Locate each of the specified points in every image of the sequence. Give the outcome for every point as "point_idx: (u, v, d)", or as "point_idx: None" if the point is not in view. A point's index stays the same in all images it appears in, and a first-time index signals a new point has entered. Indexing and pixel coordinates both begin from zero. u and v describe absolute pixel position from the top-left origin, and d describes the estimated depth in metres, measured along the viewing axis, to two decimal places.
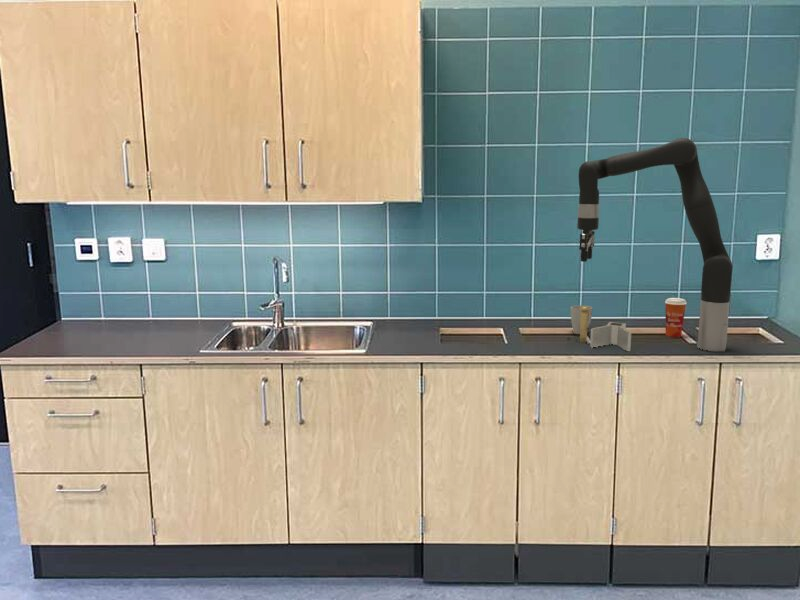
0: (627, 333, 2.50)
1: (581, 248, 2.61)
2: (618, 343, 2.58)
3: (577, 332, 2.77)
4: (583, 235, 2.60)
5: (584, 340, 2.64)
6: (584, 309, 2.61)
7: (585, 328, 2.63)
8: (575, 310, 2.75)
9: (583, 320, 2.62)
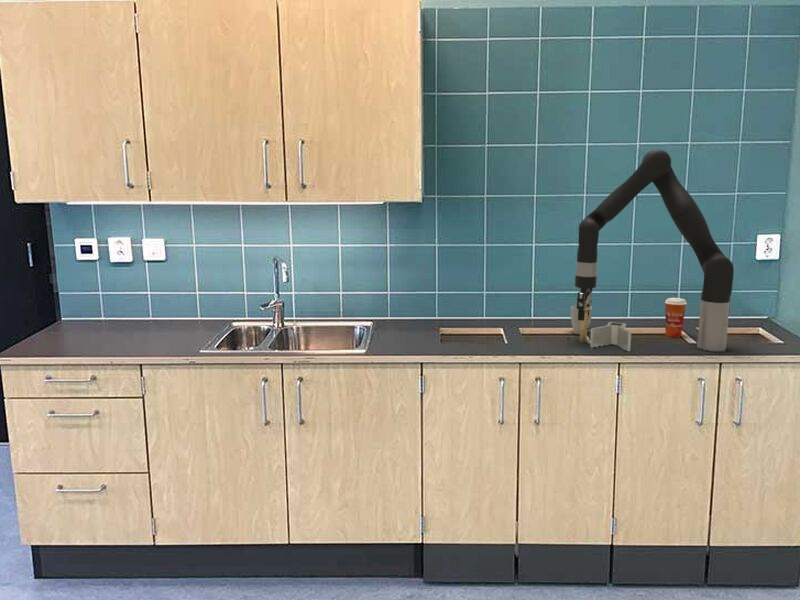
0: (627, 333, 2.50)
1: (578, 307, 2.56)
2: (618, 343, 2.58)
3: (577, 332, 2.77)
4: (580, 294, 2.55)
5: (584, 340, 2.64)
6: None
7: (585, 328, 2.63)
8: (575, 310, 2.75)
9: (583, 320, 2.62)
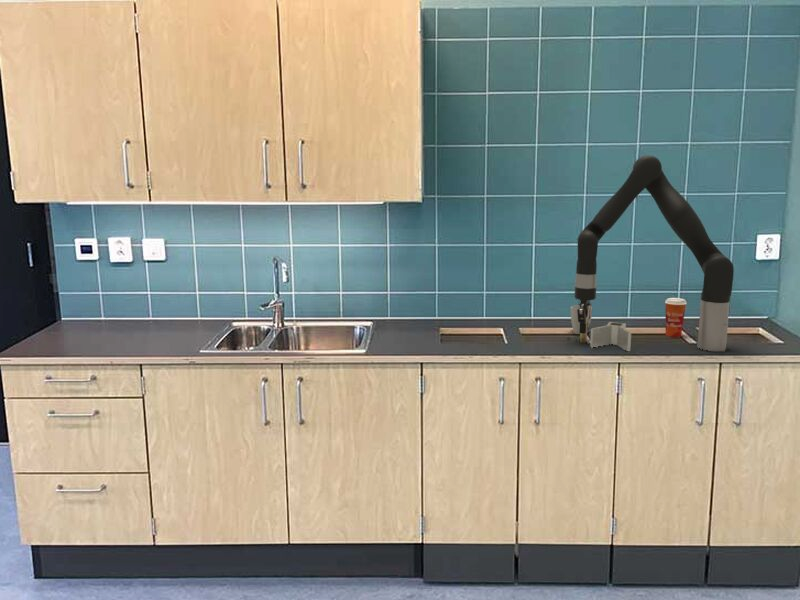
0: (627, 333, 2.50)
1: (580, 321, 2.60)
2: (618, 343, 2.58)
3: (577, 332, 2.77)
4: (580, 311, 2.57)
5: (584, 340, 2.64)
6: None
7: None
8: (575, 310, 2.75)
9: None
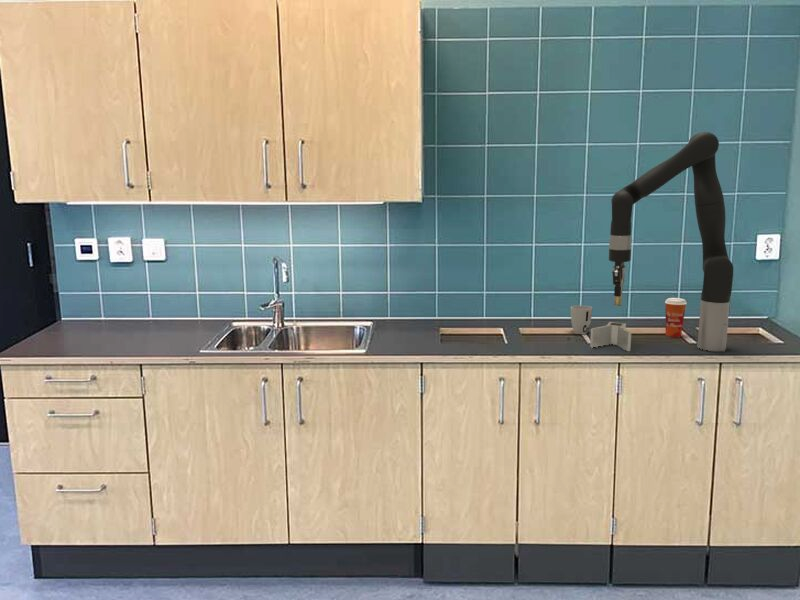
0: (627, 333, 2.50)
1: (615, 283, 2.55)
2: (618, 343, 2.58)
3: (577, 332, 2.77)
4: (616, 273, 2.52)
5: (619, 303, 2.59)
6: None
7: None
8: (575, 310, 2.75)
9: None
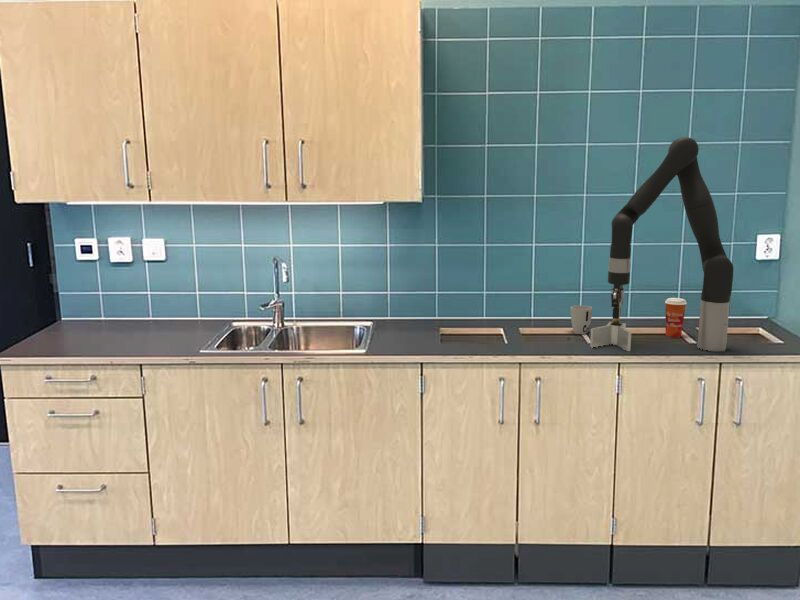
0: (627, 333, 2.50)
1: (613, 305, 2.57)
2: (618, 343, 2.58)
3: (577, 332, 2.77)
4: (614, 296, 2.54)
5: (617, 325, 2.60)
6: None
7: None
8: (575, 310, 2.75)
9: None
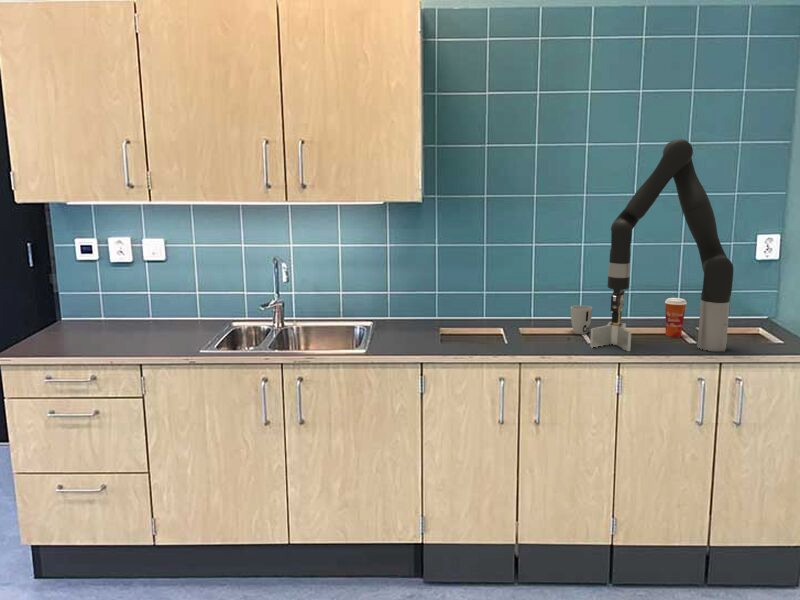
0: (627, 333, 2.50)
1: (612, 310, 2.55)
2: (618, 343, 2.58)
3: (577, 332, 2.77)
4: (614, 297, 2.54)
5: None
6: None
7: None
8: (575, 310, 2.75)
9: None
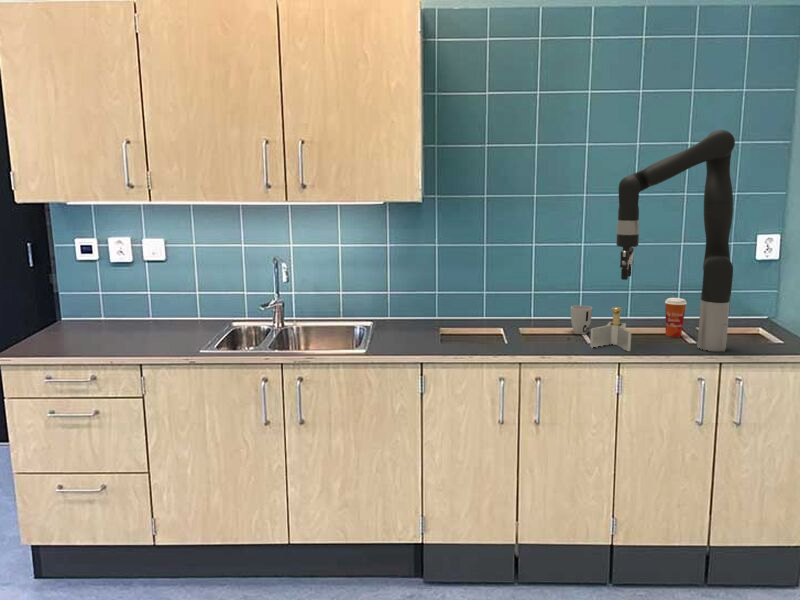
0: (627, 333, 2.50)
1: (622, 266, 2.53)
2: (618, 343, 2.58)
3: (577, 332, 2.77)
4: (624, 253, 2.52)
5: None
6: (616, 310, 2.59)
7: None
8: (575, 310, 2.75)
9: (616, 321, 2.60)
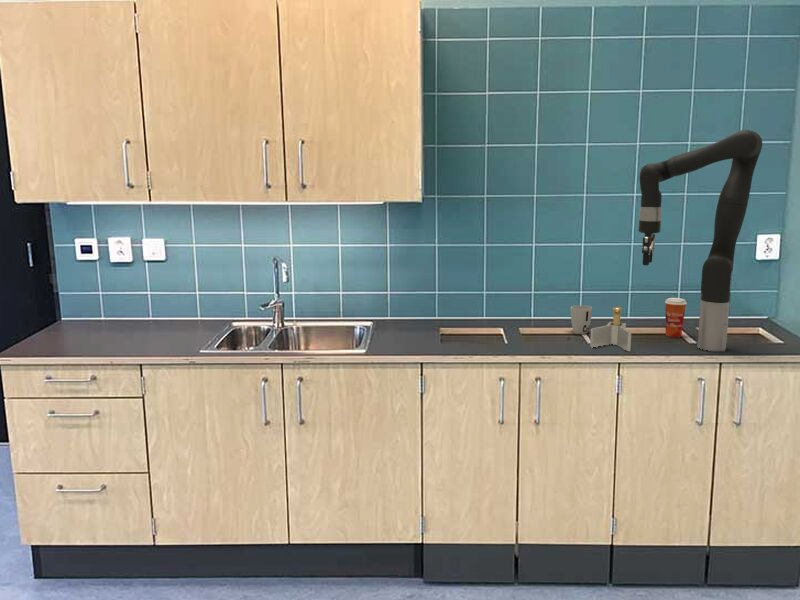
0: (627, 333, 2.50)
1: (644, 252, 2.58)
2: (618, 343, 2.58)
3: (577, 332, 2.77)
4: (646, 238, 2.57)
5: None
6: (617, 310, 2.59)
7: None
8: (575, 310, 2.75)
9: (616, 321, 2.60)
